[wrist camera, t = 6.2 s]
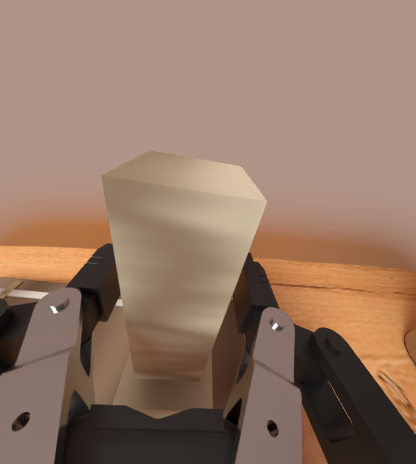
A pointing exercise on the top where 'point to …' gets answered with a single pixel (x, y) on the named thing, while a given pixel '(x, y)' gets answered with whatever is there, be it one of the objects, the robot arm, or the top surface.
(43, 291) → the board
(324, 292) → the top surface
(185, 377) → the beige tall block
